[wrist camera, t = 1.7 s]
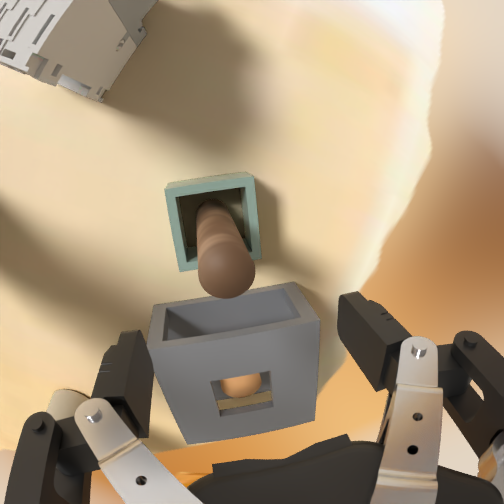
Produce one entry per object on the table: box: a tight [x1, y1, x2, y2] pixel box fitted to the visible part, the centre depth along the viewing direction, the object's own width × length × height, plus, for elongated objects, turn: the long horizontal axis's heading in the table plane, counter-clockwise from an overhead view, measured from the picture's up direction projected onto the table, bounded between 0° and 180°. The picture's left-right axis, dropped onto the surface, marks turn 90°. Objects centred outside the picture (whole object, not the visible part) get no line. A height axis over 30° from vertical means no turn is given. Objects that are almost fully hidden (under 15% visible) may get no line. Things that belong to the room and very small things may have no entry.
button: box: [220, 373, 262, 398], centre depth 32 cm, size 4×4×3 cm
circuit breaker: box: [0, 0, 158, 103], centre depth 14 cm, size 8×14×15 cm, turn 148°
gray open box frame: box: [146, 282, 320, 444], centre depth 32 cm, size 16×16×8 cm
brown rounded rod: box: [196, 199, 255, 299], centre depth 23 cm, size 3×3×14 cm
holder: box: [164, 172, 262, 272], centre depth 28 cm, size 8×8×4 cm
